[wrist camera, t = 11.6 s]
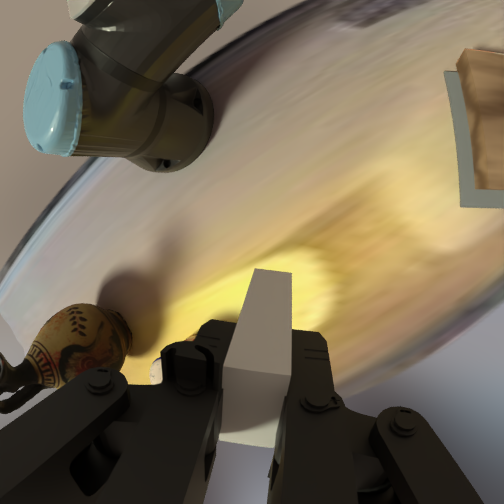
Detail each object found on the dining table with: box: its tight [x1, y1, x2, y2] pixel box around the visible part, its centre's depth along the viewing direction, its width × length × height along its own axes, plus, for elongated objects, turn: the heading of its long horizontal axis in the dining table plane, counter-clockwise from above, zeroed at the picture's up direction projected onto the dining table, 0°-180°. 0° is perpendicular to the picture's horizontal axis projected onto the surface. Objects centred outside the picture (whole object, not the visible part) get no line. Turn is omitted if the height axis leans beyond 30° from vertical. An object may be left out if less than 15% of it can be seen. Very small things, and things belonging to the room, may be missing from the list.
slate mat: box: [444, 71, 504, 208], centre depth 26 cm, size 17×14×1 cm
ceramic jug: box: [0, 303, 132, 414], centre depth 42 cm, size 17×15×30 cm
